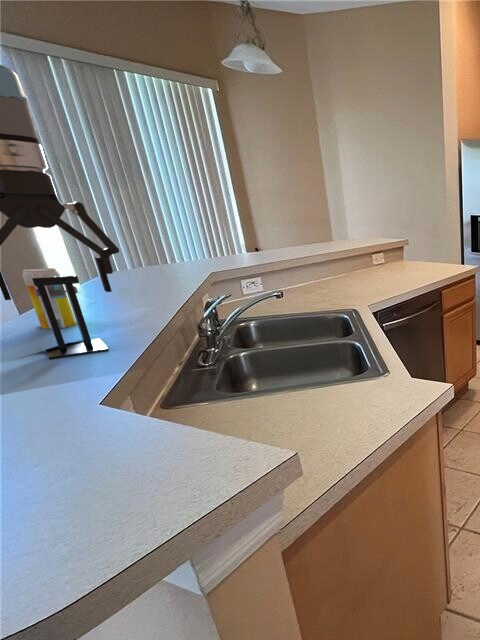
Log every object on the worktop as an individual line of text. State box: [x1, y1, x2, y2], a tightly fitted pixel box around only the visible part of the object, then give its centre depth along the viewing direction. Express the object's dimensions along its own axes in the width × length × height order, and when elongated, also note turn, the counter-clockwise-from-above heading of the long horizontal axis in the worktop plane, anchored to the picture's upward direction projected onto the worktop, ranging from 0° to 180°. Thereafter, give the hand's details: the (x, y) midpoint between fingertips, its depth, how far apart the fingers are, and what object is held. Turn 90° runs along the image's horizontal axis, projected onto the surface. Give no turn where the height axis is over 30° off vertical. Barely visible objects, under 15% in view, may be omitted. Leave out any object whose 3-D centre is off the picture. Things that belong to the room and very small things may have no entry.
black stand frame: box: [34, 284, 110, 361], centre depth 91 cm, size 11×9×15 cm
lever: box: [32, 275, 80, 299], centre depth 86 cm, size 12×6×2 cm, turn 49°
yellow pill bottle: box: [22, 267, 77, 330], centre depth 105 cm, size 6×6×15 cm
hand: (61, 295), depth 83 cm, fingers open, 13 cm apart
